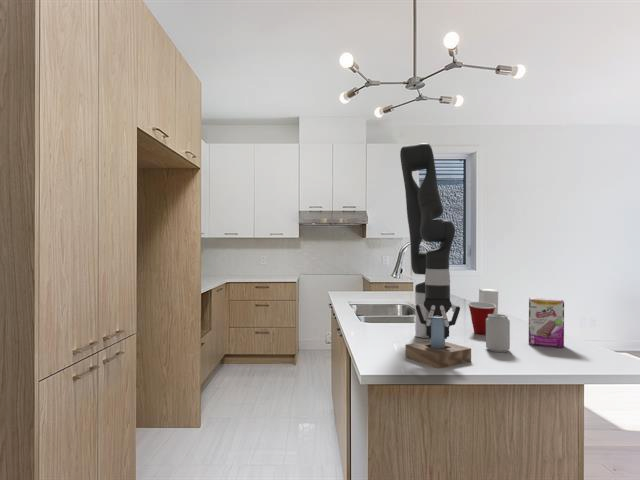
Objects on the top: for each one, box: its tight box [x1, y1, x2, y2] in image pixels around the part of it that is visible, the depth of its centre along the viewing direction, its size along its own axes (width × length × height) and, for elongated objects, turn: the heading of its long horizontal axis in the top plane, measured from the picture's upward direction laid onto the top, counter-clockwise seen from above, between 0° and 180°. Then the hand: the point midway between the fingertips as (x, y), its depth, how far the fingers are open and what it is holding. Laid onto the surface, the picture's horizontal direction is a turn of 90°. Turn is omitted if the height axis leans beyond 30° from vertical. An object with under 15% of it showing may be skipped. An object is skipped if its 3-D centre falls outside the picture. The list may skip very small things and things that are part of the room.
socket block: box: [405, 340, 472, 369], centre depth 133 cm, size 14×14×4 cm
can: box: [485, 313, 511, 353], centre depth 144 cm, size 8×8×12 cm
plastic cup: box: [467, 301, 496, 336], centre depth 171 cm, size 11×11×12 cm
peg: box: [430, 316, 446, 350], centre depth 133 cm, size 4×4×12 cm
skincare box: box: [478, 288, 499, 314], centre depth 191 cm, size 8×7×16 cm
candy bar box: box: [528, 297, 565, 349], centre depth 151 cm, size 11×5×16 cm, turn 65°
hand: (437, 337), depth 133 cm, fingers closed on peg, 4 cm apart
